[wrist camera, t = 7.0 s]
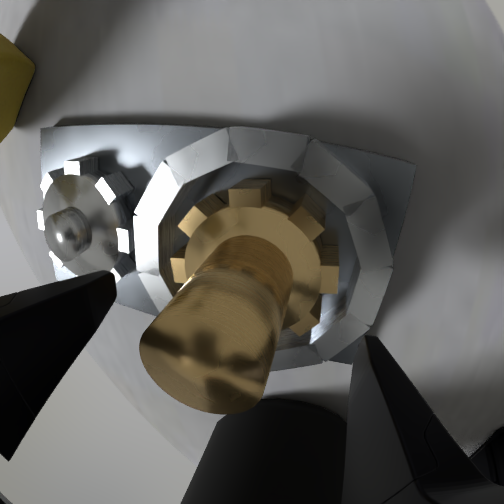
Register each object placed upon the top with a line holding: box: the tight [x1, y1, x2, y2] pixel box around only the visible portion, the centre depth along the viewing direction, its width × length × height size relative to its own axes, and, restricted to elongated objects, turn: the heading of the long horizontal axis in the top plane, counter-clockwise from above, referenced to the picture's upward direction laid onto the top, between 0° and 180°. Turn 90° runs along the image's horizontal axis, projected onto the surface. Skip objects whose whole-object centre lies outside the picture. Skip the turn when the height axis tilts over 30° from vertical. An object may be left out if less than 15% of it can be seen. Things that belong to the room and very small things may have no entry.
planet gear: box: [139, 179, 339, 414], centre depth 10 cm, size 6×6×7 cm
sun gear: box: [37, 156, 136, 283], centre depth 13 cm, size 7×7×3 cm
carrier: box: [41, 123, 417, 372], centre depth 13 cm, size 19×10×2 cm, turn 84°
